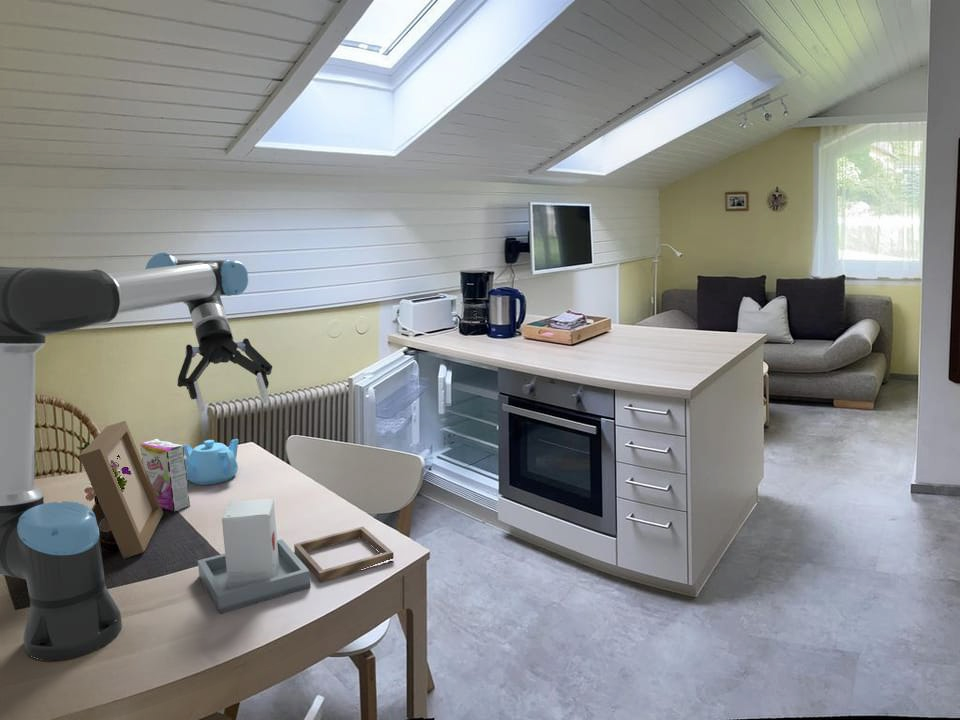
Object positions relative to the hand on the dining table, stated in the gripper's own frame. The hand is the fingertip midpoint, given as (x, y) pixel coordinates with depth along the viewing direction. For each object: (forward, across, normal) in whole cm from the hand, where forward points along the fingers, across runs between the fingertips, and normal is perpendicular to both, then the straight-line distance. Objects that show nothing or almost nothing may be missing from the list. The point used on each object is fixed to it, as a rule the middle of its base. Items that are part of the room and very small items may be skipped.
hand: (234, 405), depth 163 cm
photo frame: (+10, +24, -36) cm, 44 cm away
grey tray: (+36, +4, -8) cm, 37 cm away
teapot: (-12, -3, -57) cm, 58 cm away
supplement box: (+36, +4, -8) cm, 37 cm away
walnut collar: (+36, -15, -8) cm, 40 cm away
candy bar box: (-1, +11, -46) cm, 47 cm away
